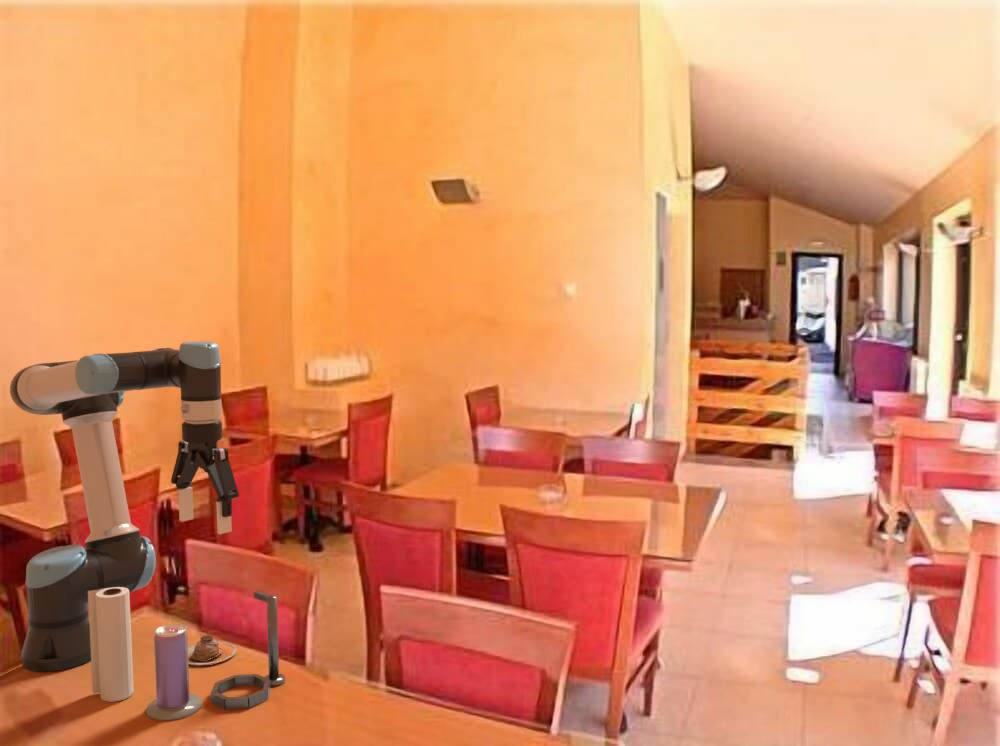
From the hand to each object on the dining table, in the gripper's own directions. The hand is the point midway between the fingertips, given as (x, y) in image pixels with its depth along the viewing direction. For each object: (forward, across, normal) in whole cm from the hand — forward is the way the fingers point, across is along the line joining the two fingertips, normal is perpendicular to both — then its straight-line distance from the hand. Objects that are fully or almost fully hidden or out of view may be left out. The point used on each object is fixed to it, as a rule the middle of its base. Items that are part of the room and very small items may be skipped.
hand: (205, 526), depth 181 cm
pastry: (+34, -13, +8) cm, 37 cm away
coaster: (+33, +4, -10) cm, 35 cm away
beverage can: (+33, +4, -10) cm, 34 cm away
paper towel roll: (+33, -10, -15) cm, 38 cm away
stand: (+33, +9, +4) cm, 34 cm away
